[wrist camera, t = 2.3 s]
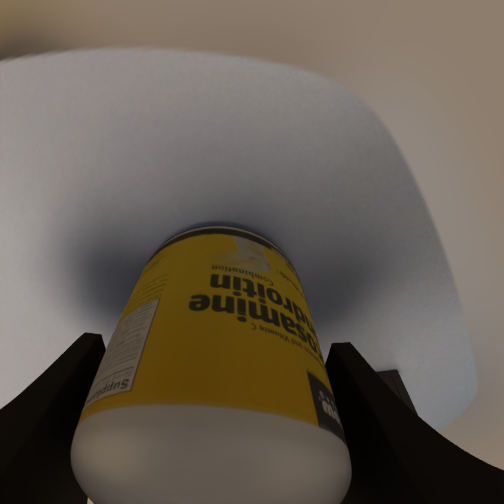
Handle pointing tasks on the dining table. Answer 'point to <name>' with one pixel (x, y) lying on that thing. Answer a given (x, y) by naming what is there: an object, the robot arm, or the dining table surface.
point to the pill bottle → (213, 385)
